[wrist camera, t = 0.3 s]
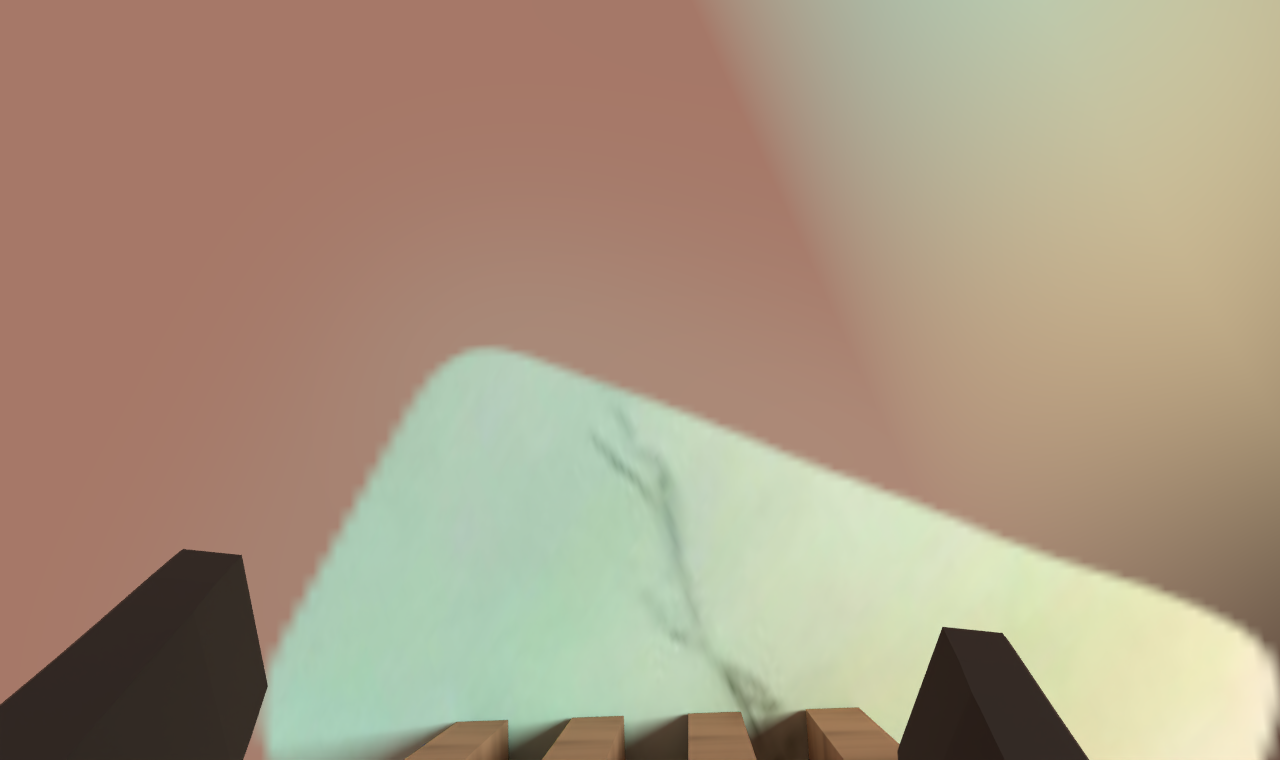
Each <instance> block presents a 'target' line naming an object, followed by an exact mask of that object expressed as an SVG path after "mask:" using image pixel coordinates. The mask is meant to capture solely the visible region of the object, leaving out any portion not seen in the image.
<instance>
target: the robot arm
mask: <svg viewBox="0 0 1280 760" xmlns="http://www.w3.org/2000/svg"><path fill="white" fill-rule="evenodd" d="M267 687H268V685H267V680H266V675H265V670H264V665H263V660H262V655H261V650H260V645H259V640H258V635H257V630H256V625H255V620H254V615H253V610H252V605H251V600H250V595H249V590H248V585H247V580H246V575H245V570H244V564H243V559H242V555H235V554H225V553H215V552H206V551H195V550H186V549H183V550H181V551H180V552H179V553H178V554H176V555H175V556H174V557H173V558H171V559H170V560H169V561H168V562H167V563H165V564H164V565H163V566H162V567H161V568H160V569H158V570H157V571H156V572H155V573H154V574H152V575H151V576H150V577H149V578H148V579H147V580H146V581H144V582H143V583H142V584H141V585H140V586H139V587H137V588H136V589H135V590H134V591H133V592H132V593H131V594H129V595H128V597H126V598H125V599H124V600H123V601H121V602H120V603H119V604H118V605H117V606H116V607H115V608H113V609H112V610H111V611H110V612H109V613H108V614H107V615H105V616H104V617H103V618H102V619H101V620H100V621H99V622H97V624H95V625H94V626H93V627H92V628H90V629H89V630H88V631H87V632H86V633H85V634H84V635H82V636H81V637H80V638H79V639H78V640H77V641H75V642H74V643H73V644H72V645H71V646H70V647H68V648H67V649H66V650H65V651H64V652H63V653H61V654H60V655H59V656H58V657H57V658H56V659H55V660H53V661H52V662H51V663H50V664H48V665H47V666H46V667H45V668H44V669H43V670H41V671H40V672H39V673H38V674H36V675H35V676H34V677H33V678H32V679H30V680H29V681H28V682H27V683H26V684H24V685H23V686H22V687H21V688H20V689H19V690H17V691H16V692H15V693H14V694H13V695H12V696H10V697H9V698H8V699H6V700H5V701H4V702H3V703H2V704H0V760H243V758H244V755H245V752H246V750H247V747H248V744H249V741H250V739H251V736H252V733H253V730H254V726H255V723H256V720H257V717H258V714H259V711H260V708H261V705H262V702H263V699H264V696H265V693H266V690H267ZM897 754H898V760H1089V759H1088V757H1087V756H1086V754H1085V753H1084V752H1083V750H1082V749H1081V747H1080V746H1079V744H1078V743H1077V741H1076V740H1075V738H1074V737H1073V736H1072V734H1071V733H1070V731H1069V730H1068V728H1067V727H1066V725H1065V724H1064V722H1063V721H1062V720H1061V718H1060V717H1059V715H1058V714H1057V712H1056V711H1055V709H1054V708H1053V706H1052V705H1051V703H1050V702H1049V700H1048V699H1047V697H1046V696H1045V694H1044V693H1043V691H1042V690H1041V688H1040V687H1039V685H1038V684H1037V682H1036V681H1035V679H1034V678H1033V676H1032V675H1031V673H1030V672H1029V670H1028V669H1027V667H1026V666H1025V664H1024V663H1023V661H1022V660H1021V658H1020V657H1019V655H1018V654H1017V653H1016V651H1015V650H1014V648H1013V647H1012V645H1011V644H1010V642H1009V641H1008V640H1007V638H1006V637H1005V636H1004V635H1003V633H996V632H986V631H977V630H967V629H957V628H947V627H942V630H941V633H940V636H939V638H938V641H937V644H936V647H935V649H934V652H933V655H932V657H931V660H930V663H929V666H928V668H927V671H926V674H925V677H924V679H923V682H922V685H921V688H920V690H919V693H918V696H917V699H916V701H915V704H914V707H913V709H912V712H911V715H910V718H909V720H908V723H907V726H906V729H905V731H904V734H903V737H902V740H901V742H900V745H899V748H898V751H897Z"/></svg>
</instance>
